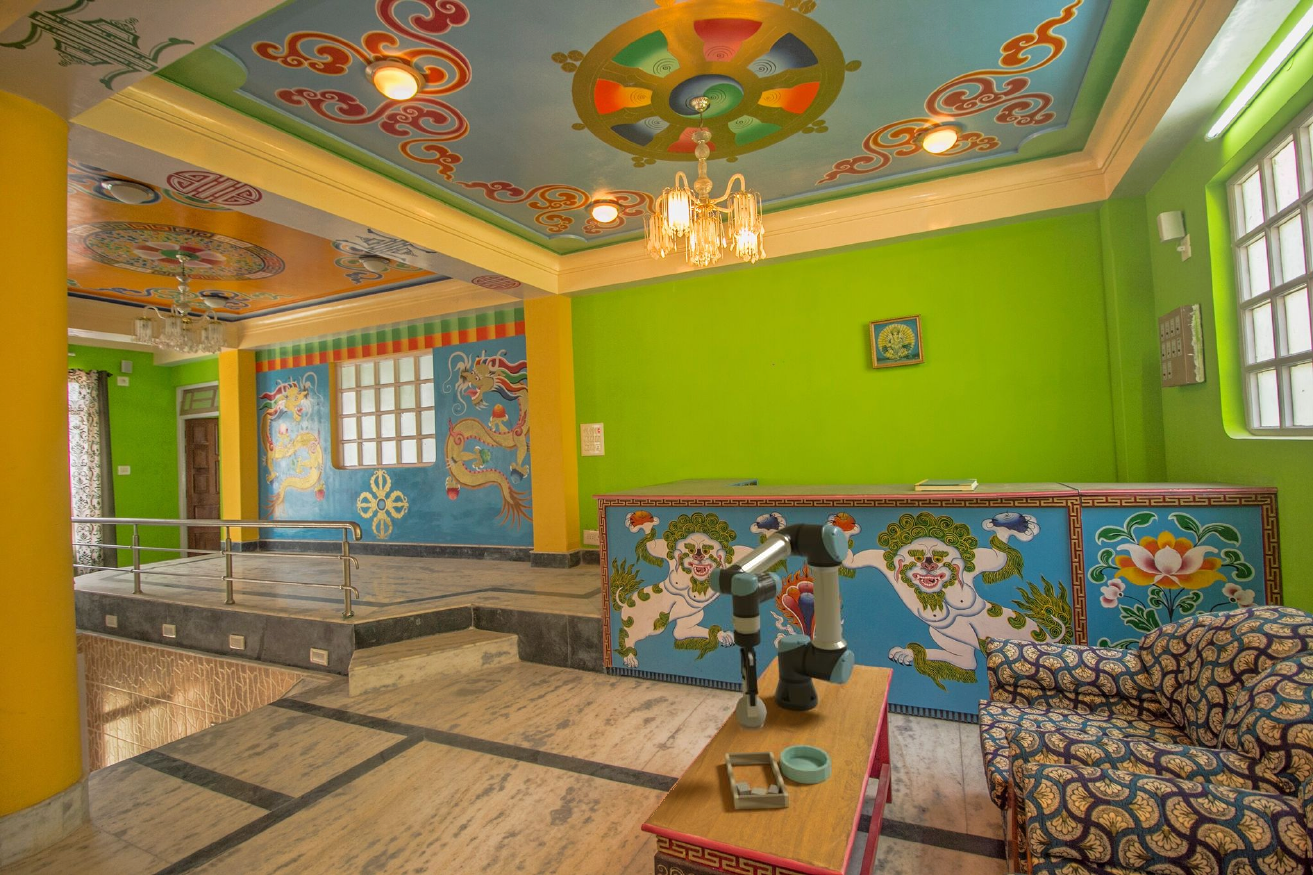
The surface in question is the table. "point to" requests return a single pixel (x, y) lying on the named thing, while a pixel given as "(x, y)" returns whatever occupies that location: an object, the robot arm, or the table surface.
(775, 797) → the tray
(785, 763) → the bowl
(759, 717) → the potion bottle
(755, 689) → the robot arm
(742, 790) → the grey block
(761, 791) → the pebble
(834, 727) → the table surface
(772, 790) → the pebble
